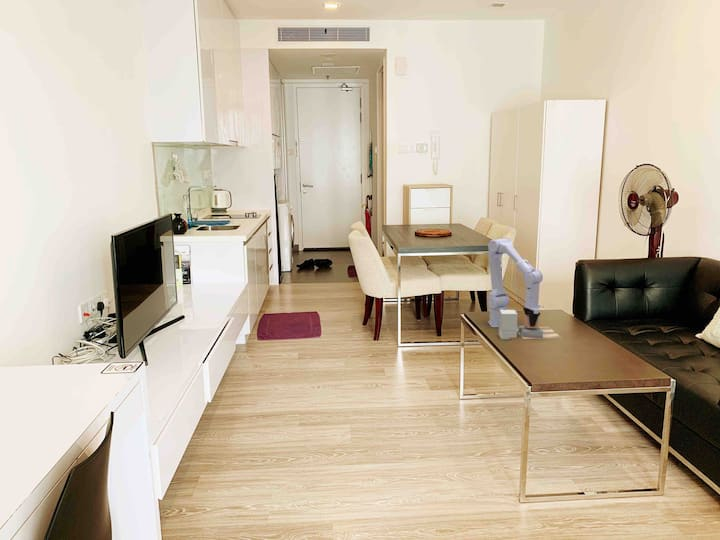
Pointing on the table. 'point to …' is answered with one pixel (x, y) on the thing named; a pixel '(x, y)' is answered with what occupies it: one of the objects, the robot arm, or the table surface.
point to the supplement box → (508, 324)
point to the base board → (546, 334)
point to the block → (527, 323)
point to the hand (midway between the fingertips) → (530, 324)
